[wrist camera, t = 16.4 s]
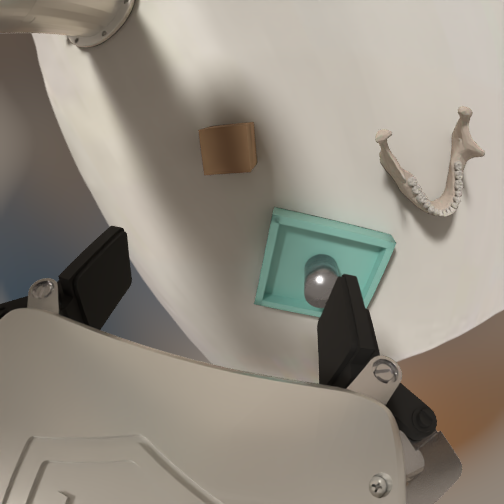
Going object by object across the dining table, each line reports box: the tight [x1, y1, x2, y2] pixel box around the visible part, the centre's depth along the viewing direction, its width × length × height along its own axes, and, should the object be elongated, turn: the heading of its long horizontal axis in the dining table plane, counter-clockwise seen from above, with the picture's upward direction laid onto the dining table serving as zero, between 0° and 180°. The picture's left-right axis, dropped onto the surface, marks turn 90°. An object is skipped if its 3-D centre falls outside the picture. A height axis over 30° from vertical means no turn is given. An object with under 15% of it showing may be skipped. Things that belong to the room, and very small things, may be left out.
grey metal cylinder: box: [304, 254, 339, 308], centre depth 35 cm, size 5×5×6 cm
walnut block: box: [198, 122, 257, 175], centre depth 29 cm, size 5×5×5 cm
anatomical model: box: [375, 106, 485, 217], centre depth 25 cm, size 13×11×10 cm
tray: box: [254, 207, 396, 317], centre depth 36 cm, size 16×14×2 cm
